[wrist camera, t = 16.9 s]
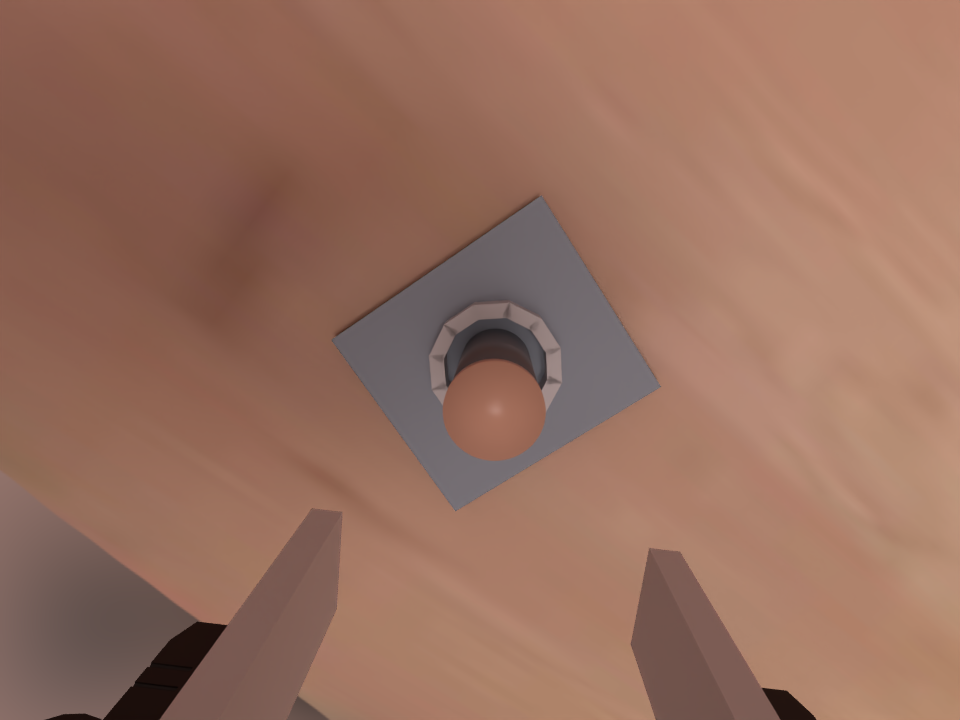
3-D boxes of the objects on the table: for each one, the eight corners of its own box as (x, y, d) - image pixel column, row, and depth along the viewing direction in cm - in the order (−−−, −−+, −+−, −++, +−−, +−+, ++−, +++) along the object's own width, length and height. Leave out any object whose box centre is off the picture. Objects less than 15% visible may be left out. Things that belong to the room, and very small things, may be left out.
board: (456, 503, 42) (453, 524, 39) (336, 337, 40) (322, 344, 37) (656, 382, 40) (669, 394, 37) (540, 196, 37) (543, 192, 34)
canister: (485, 410, 39) (479, 478, 28) (445, 352, 39) (422, 397, 27) (545, 372, 39) (565, 426, 27) (506, 313, 38) (509, 341, 26)
